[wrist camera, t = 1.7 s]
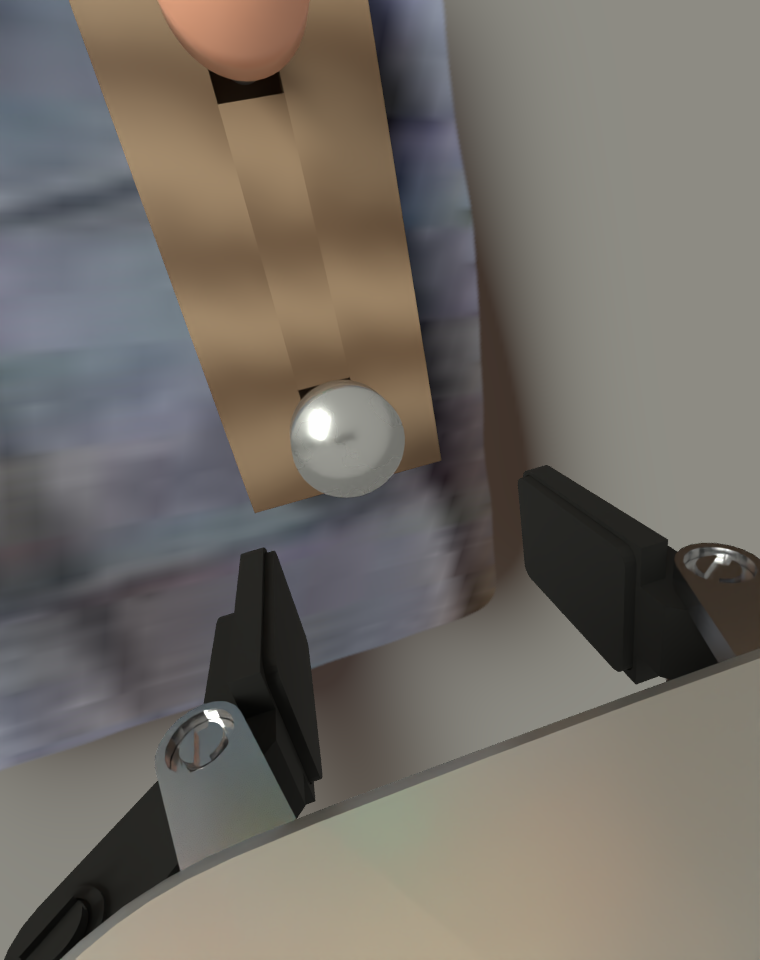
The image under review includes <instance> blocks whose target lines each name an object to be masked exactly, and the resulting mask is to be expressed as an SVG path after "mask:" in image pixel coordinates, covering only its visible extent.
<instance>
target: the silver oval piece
mask: <svg viewBox="0 0 760 960" xmlns="http://www.w3.org/2000/svg"><path fill="white" fill-rule="evenodd" d="M290 443H291V450H292V455H293V460H294V463H295V465H296V468H297V469H298V471H299V473H300V474H301V476H302V477H303V478H304V480H305V481H306V482H307V483H308V484H309V485H311V486H312V487H313V488H315V489H316V490H318V491H320V492H322V493H324V494H327V495H330V496H334V497H341V498H349V497H357V496H362V495H365V494H367V493H370V492H372V491H374V490H376V489H377V488H379V487H380V486H382V485H383V484H384V483H385V482H387V481H388V479H389V478H390V477H391V476H392V475H393V474H394V472H395V471H396V469H397V468H398V466H399V464H400V461H401V459H402V456H403V452H404V446H405V435H404V429H403V425H402V422H401V420H400V417H399V416H398V414H397V412H396V411H395V409H394V408H393V407H392V406H391V405H390V404H389V403H388V402H387V401H386V400H385V399H384V398H383V397H382V396H381V395H380V394H379V393H378V392H376V391H375V390H374V389H372V388H371V387H369V386H367V385H365V384H363V383H360V382H357V381H352V380H335V381H330V382H326V383H323V384H321V385H319V386H317V387H315V388H314V389H312V390H311V391H310V392H308V393H307V394H306V395H305V396H304V397H303V398H302V399H301V401H300V402H299V404H298V405H297V407H296V409H295V411H294V413H293V415H292V418H291V423H290Z"/></svg>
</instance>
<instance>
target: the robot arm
mask: <svg viewBox="0 0 760 960" xmlns="http://www.w3.org/2000/svg"><path fill="white" fill-rule="evenodd" d="M518 491H519V503H520V514H521V526H522V537H523V549H524V560H525V567H526V571H527V573H528V575H529V577H530V578H531V579H532V580H533V581H534V582H535V583H536V585H537V586H538V587H539V588H540V589H541V590H542V591H543V592H544V593H545V594H546V596H547V597H549V599H550V600H551V601H552V602H553V603H554V604H555V605H556V606H557V608H558V609H559V610H560V611H561V612H562V613H563V614H564V615H565V616H566V617H567V618H568V620H569V621H570V622H571V623H572V624H573V625H574V626H575V627H576V628H577V629H578V630H579V632H580V633H581V634H582V635H583V636H584V637H585V638H586V639H587V640H588V641H589V643H590V644H591V645H592V646H593V647H594V648H595V649H596V650H597V651H598V652H599V653H600V655H601V656H602V657H603V658H604V659H605V660H606V661H607V662H608V663H609V664H610V665H611V666H612V668H613V669H615V670H616V671H618V672H621V671H624V672H625V673H626V674H627V676H628V677H629V678H630V679H631V680H632V681H633V682H634V683H635V684H638V683H641V682H644V681H647V680H649V679H652V678H655V677H658V676H660V677H663V678H666V682H664V683H662V684H659V685H656V686H653V687H651V688H648V689H645V690H642V691H639V692H637V693H634V694H631V695H628V696H626V697H623V698H620V699H617V700H615V701H612V702H609V703H607V704H604V705H601V706H598V707H596V708H593V709H590V710H587V711H585V712H582V713H579V714H577V715H574V716H571V717H568V718H566V719H563V720H560V721H557V722H554V723H552V724H549V725H547V726H544V727H541V728H538V729H535V730H533V731H530V732H527V733H525V734H522V735H519V736H517V737H514V738H511V739H508V740H505V741H503V742H500V743H497V744H495V745H492V746H489V747H487V748H484V749H481V750H478V751H476V752H473V753H470V754H468V755H465V756H462V757H460V758H457V759H454V760H452V761H449V762H446V763H443V764H441V765H438V766H436V767H433V768H430V769H427V770H425V771H422V772H419V773H417V774H414V775H411V776H409V777H406V778H403V779H401V780H398V781H395V782H393V783H390V784H387V785H385V786H382V787H379V788H376V789H374V790H371V791H369V792H366V793H363V794H360V795H358V796H355V797H352V798H350V799H347V800H344V801H342V802H340V803H337V804H334V805H332V806H329V807H327V808H324V809H322V810H319V811H317V812H314V813H312V814H309V815H306V816H304V817H301V818H299V819H297V818H298V816H299V814H300V813H301V811H302V810H303V808H304V807H305V805H306V804H309V803H311V802H314V801H315V792H314V781H317V780H319V779H322V766H321V757H320V747H319V738H318V729H317V720H316V711H315V702H314V694H313V684H312V674H311V665H310V656H309V648H308V643H307V639H306V635H305V632H304V630H303V627H302V624H301V621H300V618H299V616H298V613H297V610H296V607H295V604H294V602H293V599H292V596H291V593H290V590H289V587H288V585H287V582H286V579H285V576H284V573H283V571H282V568H281V565H280V562H279V559H278V557H277V554H276V552H275V551H271V552H268V553H267V550H266V549H265V548H260V549H257V550H253V551H250V552H247V553H243V554H241V557H240V566H239V575H238V584H237V593H236V602H235V611H234V613H232V614H229V615H226V616H222V617H220V618H219V619H218V621H217V624H216V630H215V637H214V643H213V649H212V655H211V661H210V668H209V674H208V680H207V686H206V693H205V699H204V704H203V705H201V706H199V707H197V708H195V709H193V710H191V711H189V712H188V713H187V714H185V715H184V716H182V717H181V718H180V719H178V720H177V721H176V722H175V723H174V725H173V726H172V727H171V728H170V729H169V730H168V731H167V732H166V734H165V736H164V737H163V739H162V740H161V742H160V744H159V747H158V750H157V752H156V755H155V769H156V774H157V778H158V781H157V782H156V783H155V784H154V785H153V786H152V787H151V788H150V789H149V791H147V793H146V794H145V795H144V796H143V797H142V798H141V799H140V800H139V801H138V802H137V803H136V804H135V805H134V806H133V807H132V809H130V811H129V812H128V813H127V814H126V815H125V816H124V817H123V818H122V819H121V820H120V821H119V822H118V823H117V824H116V825H115V826H114V828H113V829H112V830H111V831H110V832H109V833H108V834H107V835H106V836H105V837H104V838H103V839H102V840H101V841H100V842H99V843H98V845H97V846H96V847H95V848H94V849H93V850H92V851H91V852H90V853H89V854H88V855H87V856H86V857H85V858H84V859H83V860H82V861H81V863H80V864H79V865H78V866H77V867H76V868H75V869H74V870H73V871H72V872H71V873H70V874H69V875H68V876H67V878H65V880H64V881H63V882H62V883H61V884H60V885H59V886H58V887H57V888H56V889H55V890H54V891H53V892H52V893H51V894H50V896H49V897H48V898H47V899H46V900H45V901H44V902H43V903H42V904H41V905H40V906H39V907H38V908H37V909H36V911H35V912H34V913H33V914H32V916H31V917H30V918H29V919H28V921H27V922H26V923H25V924H24V925H23V927H22V928H21V930H20V931H19V933H18V935H17V936H16V938H15V939H14V941H13V943H12V944H11V946H10V948H9V949H8V952H7V954H6V956H5V959H4V960H760V559H759V558H758V557H756V556H755V555H754V554H752V553H750V552H748V551H746V550H743V549H740V548H737V547H734V546H731V545H725V544H719V543H698V544H691V545H688V546H685V547H683V548H681V549H680V550H679V551H678V552H677V551H675V550H674V549H672V548H671V547H669V546H668V539H666V538H664V537H663V536H661V535H659V534H658V533H656V532H655V531H653V530H651V529H650V528H648V527H647V526H645V525H643V524H642V523H640V522H638V521H637V520H635V519H634V518H632V517H631V516H629V515H627V514H626V513H624V512H622V511H621V510H619V509H618V508H616V507H614V506H613V505H611V504H610V503H608V502H606V501H605V500H603V499H601V498H600V497H598V496H597V495H595V494H593V493H592V492H590V491H589V490H587V489H585V488H584V487H582V486H581V485H579V484H577V483H576V482H574V481H572V480H571V479H569V478H568V477H566V476H564V475H562V474H561V473H560V472H558V471H556V470H555V469H553V468H551V467H550V466H548V465H545V466H542V467H538V468H535V469H531V470H528V471H525V472H524V475H523V478H520V479H519V480H518Z"/></svg>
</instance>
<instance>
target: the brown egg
mask: <svg viewBox="0 0 760 960" xmlns="http://www.w3.org/2000/svg"><path fill="white" fill-rule="evenodd" d="M157 1H158V3H159V6H160V9H161V11H162V13H163V16H164V18H165V20H166V22H167V24H168V26H169V27H170V29H171V31H172V32H173V34H174V36H175V37H176V38H177V40H178V41H179V42H180V44H181V45H182V46H183V47H184V49H185V50H186V51H187V52H188V53H189V54H190V55H191V56H192V57H193V58H194V59H195V60H196V61H198V62H199V63H200V64H201V65H203V66H204V67H206V68H207V69H208V70H210V71H212V72H214V73H216V74H218V75H220V76H223V77H225V78H228V79H232V80H233V81H234V82H236V83H238V84H241V85H249V84H252V83H254V82H255V81H257V80H261V79H265V78H267V77H269V76H271V75H274V74H275V73H277V72H278V71H280V70H281V69H282V68H283V67H284V66H285V65H286V64H287V63H288V62H289V61H290V60H291V58H292V57H293V56H294V54H295V53H296V51H297V49H298V47H299V45H300V43H301V40H302V38H303V35H304V31H305V28H306V23H307V16H308V9H309V2H310V0H157Z"/></svg>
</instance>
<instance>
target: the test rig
mask: <svg viewBox="0 0 760 960" xmlns="http://www.w3.org/2000/svg"><path fill="white" fill-rule="evenodd" d="M69 2H70V5H71V8H72V10H73V13H74V16H75V19H76V21H77V24H78V27H79V30H80V32H81V35H82V38H83V41H84V43H85V46H86V49H87V52H88V54H89V57H90V60H91V63H92V65H93V68H94V71H95V74H96V76H97V79H98V82H99V85H100V88H101V90H102V93H103V96H104V99H105V101H106V104H107V107H108V110H109V112H110V115H111V118H112V121H113V123H114V126H115V129H116V132H117V134H118V137H119V140H120V143H121V145H122V148H123V151H124V154H125V156H126V159H127V162H128V165H129V168H130V170H131V173H132V176H133V179H134V181H135V184H136V187H137V190H138V192H139V195H140V198H141V201H142V203H143V206H144V209H145V212H146V214H147V217H148V220H149V223H150V225H151V228H152V231H153V234H154V236H155V239H156V242H157V245H158V247H159V250H160V253H161V256H162V259H163V261H164V264H165V267H166V270H167V272H168V275H169V278H170V281H171V283H172V286H173V289H174V292H175V294H176V297H177V300H178V303H179V305H180V308H181V311H182V314H183V316H184V319H185V322H186V325H187V327H188V330H189V333H190V336H191V339H192V341H193V344H194V347H195V350H196V352H197V355H198V358H199V361H200V363H201V366H202V369H203V372H204V374H205V377H206V380H207V383H208V385H209V388H210V391H211V394H212V396H213V399H214V402H215V405H216V407H217V410H218V413H219V416H220V419H221V421H222V424H223V427H224V430H225V432H226V435H227V438H228V441H229V443H230V446H231V449H232V452H233V454H234V457H235V460H236V463H237V465H238V468H239V471H240V474H241V476H242V479H243V482H244V485H245V487H246V490H247V493H248V496H249V499H250V501H251V504H252V507H253V510H254V512H255V513H257V512H260V511H264V510H267V509H271V508H274V507H278V506H282V505H285V504H289V503H292V502H296V501H299V500H303V499H306V498H310V497H313V496H317V495H321V494H324V493H322V492H320V491H318V490H316V489H315V488H313V487H312V486H311V485H309V484H308V483H307V482H306V481H305V480H304V478H303V477H302V476H301V474H300V473H299V471H298V469H297V468H296V465H295V463H294V460H293V455H292V450H291V443H290V423H291V418H292V415H293V413H294V411H295V409H296V407H297V405H298V404H299V402H300V401H301V399H302V398H303V397H304V396H305V395H306V394H307V393H308V392H310V391H311V390H312V389H314V388H315V387H317V386H319V385H321V384H323V383H326V382H330V381H335V380H352V381H357V382H360V383H363V384H365V385H367V386H369V387H371V388H372V389H374V390H375V391H376V392H378V393H379V394H380V395H381V396H382V397H383V398H384V399H385V400H386V401H387V402H388V403H389V404H390V405H391V406H392V407H393V408H394V409H395V411H396V412H397V414H398V416H399V417H400V420H401V422H402V425H403V429H404V435H405V446H404V452H403V456H402V459H401V461H400V464H399V466H398V468H397V469H396V471H395V472H394V474H395V473H399V472H402V471H406V470H409V469H413V468H416V467H420V466H423V465H427V464H431V463H434V462H438V461H441V455H440V449H439V443H438V436H437V430H436V424H435V418H434V411H433V405H432V399H431V392H430V386H429V380H428V374H427V367H426V361H425V355H424V348H423V342H422V336H421V330H420V323H419V317H418V311H417V305H416V298H415V292H414V286H413V279H412V273H411V267H410V261H409V254H408V248H407V242H406V236H405V229H404V223H403V217H402V210H401V204H400V198H399V192H398V185H397V179H396V173H395V166H394V160H393V154H392V148H391V141H390V135H389V129H388V123H387V116H386V110H385V104H384V97H383V91H382V85H381V79H380V72H379V66H378V60H377V53H376V47H375V41H374V35H373V28H372V22H371V16H370V10H369V3H368V0H310V2H309V9H308V16H307V23H306V28H305V31H304V35H303V38H302V40H301V43H300V45H299V47H298V49H297V51H296V53H295V54H294V56H293V57H292V58H291V60H290V61H289V62H288V63H287V64H286V65H285V66H284V67H283V68H282V69H281V70H280V71H278V72H277V73H275V74H274V75H271V76H269V77H267V78H265V79H261V80H257V81H255V82H254V83H252V84H249V85H241V84H238V83H236V82H234V81H233V80H232V79H228V78H225V77H223V76H220V75H218V74H216V73H214V72H212V71H210V70H208V69H207V68H206V67H204V66H203V65H201V64H200V63H199V62H198V61H196V60H195V59H194V58H193V57H192V56H191V55H190V54H189V53H188V52H187V51H186V50H185V49H184V47H183V46H182V45H181V44H180V42H179V41H178V40H177V38H176V37H175V36H174V34H173V32H172V31H171V29H170V27H169V26H168V24H167V22H166V20H165V18H164V16H163V13H162V11H161V9H160V6H159V3H158V1H157V0H69Z"/></svg>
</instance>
